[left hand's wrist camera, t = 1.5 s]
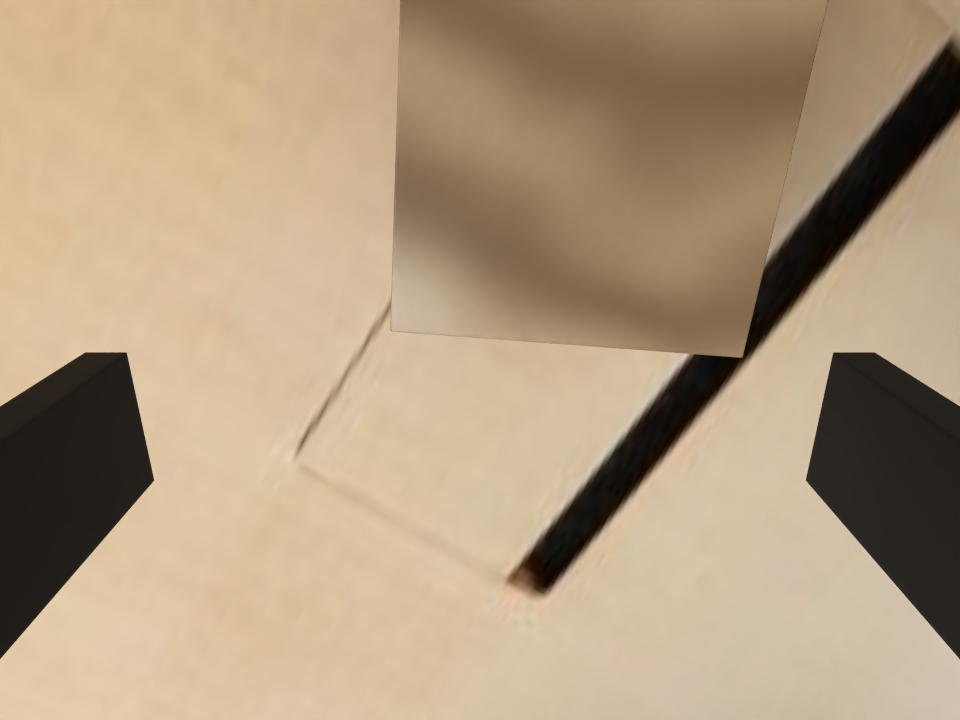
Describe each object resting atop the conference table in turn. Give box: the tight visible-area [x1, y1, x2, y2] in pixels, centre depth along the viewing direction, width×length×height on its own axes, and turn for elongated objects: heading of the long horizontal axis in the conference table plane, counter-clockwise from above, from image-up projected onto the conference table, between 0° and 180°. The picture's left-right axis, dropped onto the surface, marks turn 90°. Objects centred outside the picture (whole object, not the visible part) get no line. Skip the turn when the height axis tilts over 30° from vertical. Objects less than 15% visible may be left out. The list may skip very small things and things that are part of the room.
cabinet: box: [390, 0, 828, 357], centre depth 22 cm, size 17×11×9 cm, turn 176°
